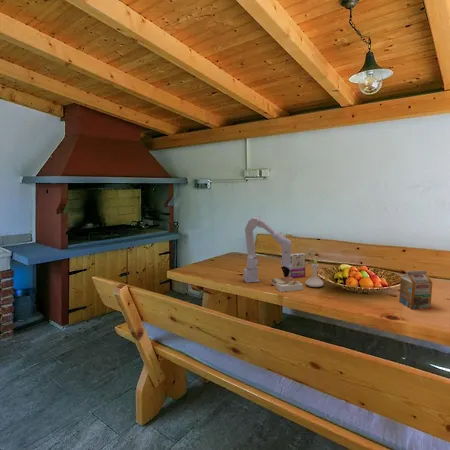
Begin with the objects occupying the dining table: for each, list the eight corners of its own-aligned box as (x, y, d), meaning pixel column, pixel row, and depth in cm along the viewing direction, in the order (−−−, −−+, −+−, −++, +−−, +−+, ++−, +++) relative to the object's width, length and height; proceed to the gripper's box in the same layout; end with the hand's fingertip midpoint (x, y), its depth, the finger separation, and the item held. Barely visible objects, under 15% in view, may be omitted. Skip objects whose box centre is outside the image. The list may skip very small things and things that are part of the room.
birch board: (277, 287, 206) (277, 283, 205) (271, 283, 215) (271, 278, 215) (294, 286, 208) (295, 281, 208) (288, 281, 218) (288, 277, 218)
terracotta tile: (286, 281, 208) (286, 278, 208) (283, 279, 212) (283, 276, 212) (292, 281, 209) (292, 278, 209) (289, 279, 213) (289, 276, 213)
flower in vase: (316, 282, 216) (317, 245, 212) (327, 287, 205) (328, 248, 202) (299, 284, 211) (300, 247, 208) (310, 289, 201) (311, 250, 197)
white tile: (280, 284, 203) (280, 287, 203) (283, 287, 198) (283, 290, 199) (287, 284, 204) (287, 287, 204) (290, 286, 199) (290, 289, 200)
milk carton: (417, 301, 179) (420, 268, 176) (430, 308, 168) (433, 273, 166) (399, 301, 179) (401, 268, 176) (410, 309, 168) (413, 274, 166)
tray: (281, 292, 197) (281, 286, 197) (276, 288, 205) (276, 282, 204) (302, 289, 201) (302, 284, 200) (297, 286, 208) (297, 280, 208)
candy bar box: (302, 275, 233) (302, 252, 230) (305, 277, 228) (305, 254, 226) (287, 276, 230) (288, 253, 228) (290, 278, 225) (291, 255, 223)
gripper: (296, 259, 206) (296, 280, 207) (287, 254, 220) (287, 274, 221) (286, 260, 204) (286, 281, 206) (277, 255, 218) (277, 275, 220)
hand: (286, 277), depth 214 cm, fingers closed
